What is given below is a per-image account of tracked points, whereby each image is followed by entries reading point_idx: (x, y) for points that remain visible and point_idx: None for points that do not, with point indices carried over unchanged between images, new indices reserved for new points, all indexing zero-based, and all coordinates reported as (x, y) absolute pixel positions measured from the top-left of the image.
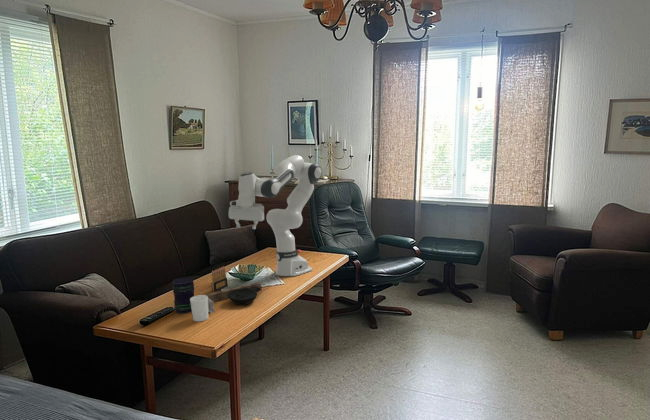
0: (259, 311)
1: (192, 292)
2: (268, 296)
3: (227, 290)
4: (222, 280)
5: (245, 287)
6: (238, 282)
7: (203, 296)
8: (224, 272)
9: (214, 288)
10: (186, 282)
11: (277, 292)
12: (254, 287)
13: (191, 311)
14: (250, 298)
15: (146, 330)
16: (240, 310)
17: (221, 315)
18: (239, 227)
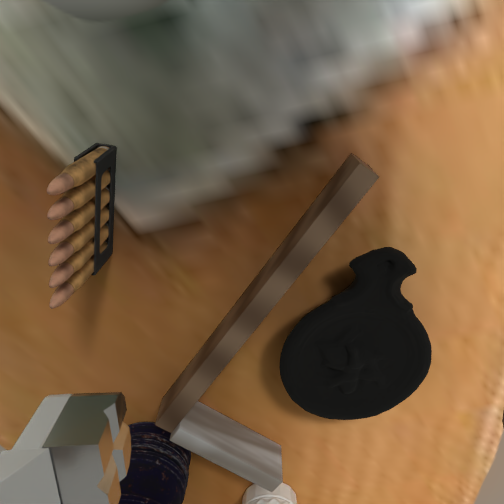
0: (470, 408)
1: None
2: (449, 248)
3: (241, 332)
4: (98, 202)
5: (310, 259)
6: (135, 58)
7: None
8: (77, 185)
9: (106, 260)
10: None
11: (482, 179)
12: (377, 268)
13: (189, 463)
14: (416, 388)
15: None
16: (382, 415)
17: (330, 464)
18: (119, 418)
